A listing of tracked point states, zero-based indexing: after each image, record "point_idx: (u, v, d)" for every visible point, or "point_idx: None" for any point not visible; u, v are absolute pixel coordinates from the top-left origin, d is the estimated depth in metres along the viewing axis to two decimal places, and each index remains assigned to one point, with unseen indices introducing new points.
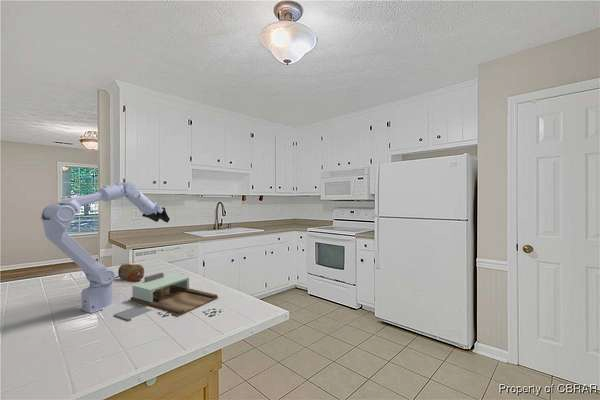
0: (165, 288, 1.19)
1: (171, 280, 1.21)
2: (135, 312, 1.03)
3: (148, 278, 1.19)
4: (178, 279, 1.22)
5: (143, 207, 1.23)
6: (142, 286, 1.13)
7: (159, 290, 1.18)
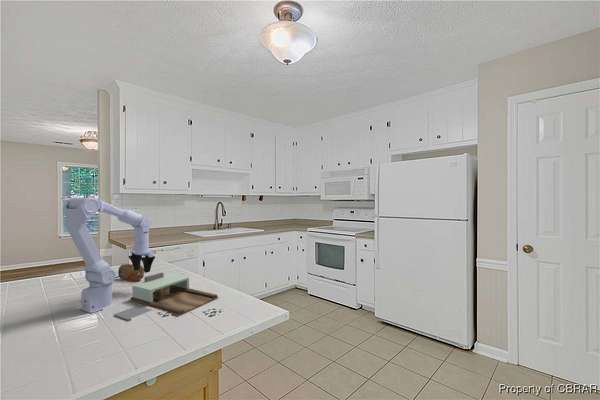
0: (165, 288, 1.19)
1: (171, 280, 1.21)
2: (135, 312, 1.03)
3: (148, 278, 1.19)
4: (178, 279, 1.22)
5: (139, 244, 1.23)
6: (142, 286, 1.13)
7: (159, 290, 1.18)
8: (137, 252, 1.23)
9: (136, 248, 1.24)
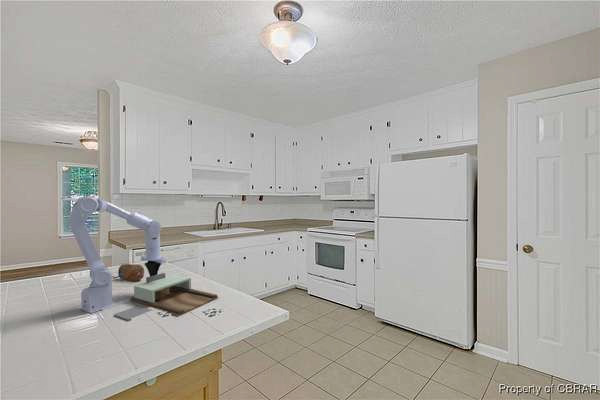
0: (165, 288, 1.19)
1: (173, 280, 1.20)
2: (135, 312, 1.03)
3: (150, 278, 1.19)
4: (180, 279, 1.22)
5: (151, 250, 1.20)
6: (144, 286, 1.13)
7: (159, 290, 1.18)
8: (149, 258, 1.20)
9: (148, 254, 1.20)
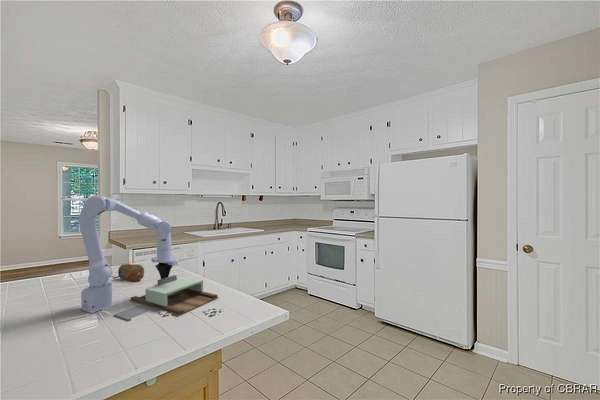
0: None
1: (185, 283, 1.17)
2: (135, 312, 1.03)
3: (161, 281, 1.15)
4: (192, 282, 1.18)
5: (162, 252, 1.16)
6: (156, 289, 1.09)
7: None
8: (160, 260, 1.16)
9: (159, 256, 1.16)
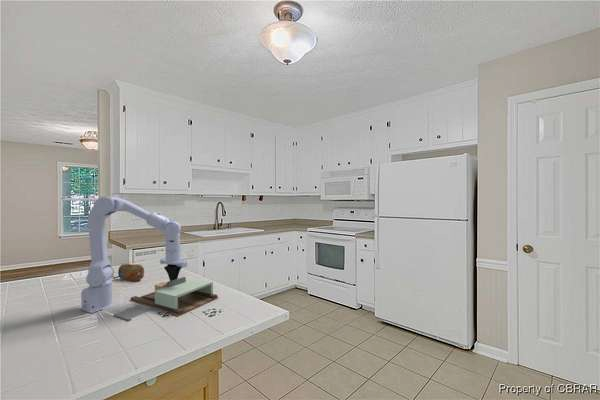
0: None
1: (194, 285, 1.14)
2: (135, 312, 1.03)
3: (170, 283, 1.12)
4: (202, 284, 1.15)
5: (171, 253, 1.13)
6: (165, 292, 1.06)
7: None
8: (169, 262, 1.13)
9: (168, 257, 1.13)
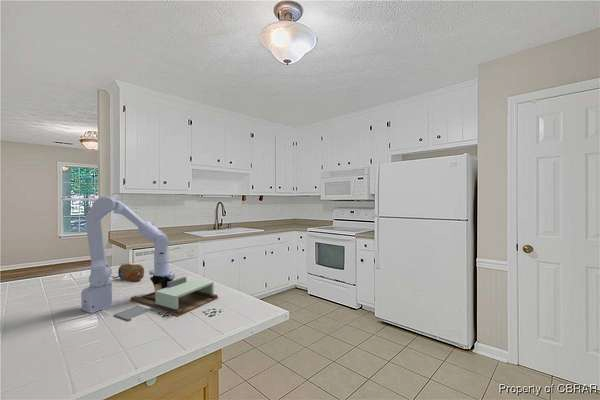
0: None
1: (195, 285, 1.14)
2: (135, 312, 1.03)
3: (171, 283, 1.12)
4: (202, 284, 1.15)
5: (160, 265, 1.17)
6: (166, 292, 1.06)
7: None
8: (157, 273, 1.17)
9: (156, 269, 1.17)
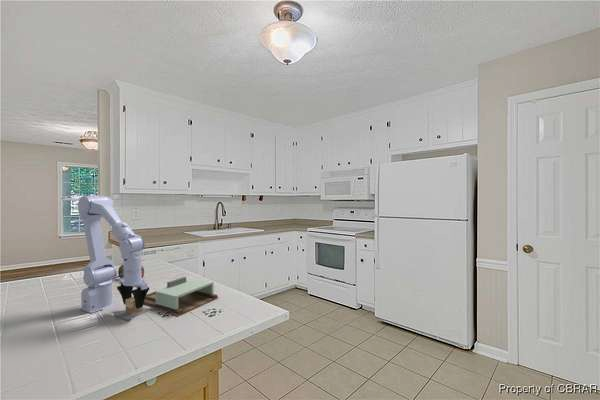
0: None
1: (195, 285, 1.14)
2: None
3: (171, 283, 1.12)
4: (202, 284, 1.15)
5: (130, 273, 1.00)
6: (166, 292, 1.06)
7: (130, 306, 1.01)
8: (127, 283, 1.00)
9: (126, 278, 1.00)
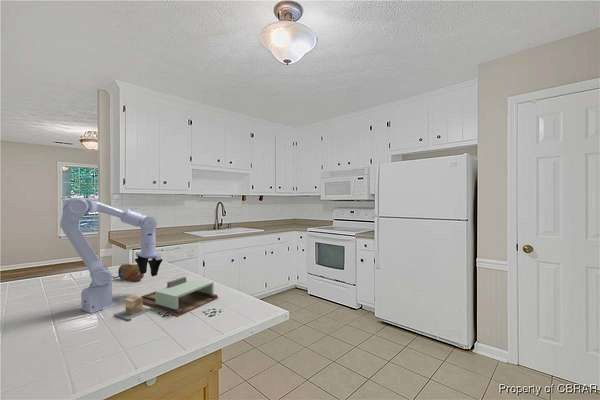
0: (137, 303, 1.03)
1: (195, 285, 1.14)
2: None
3: (171, 283, 1.12)
4: (202, 284, 1.15)
5: (146, 246, 1.18)
6: (166, 292, 1.06)
7: (130, 306, 1.01)
8: (144, 255, 1.18)
9: (143, 251, 1.18)
